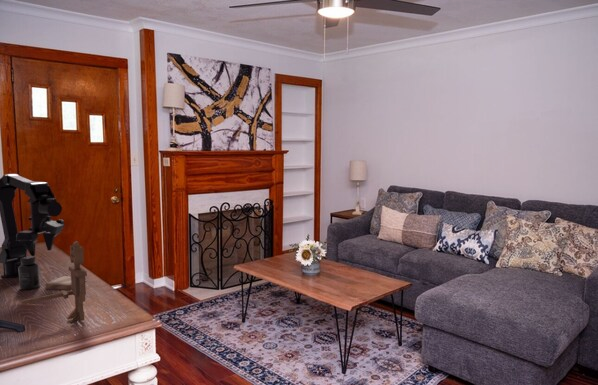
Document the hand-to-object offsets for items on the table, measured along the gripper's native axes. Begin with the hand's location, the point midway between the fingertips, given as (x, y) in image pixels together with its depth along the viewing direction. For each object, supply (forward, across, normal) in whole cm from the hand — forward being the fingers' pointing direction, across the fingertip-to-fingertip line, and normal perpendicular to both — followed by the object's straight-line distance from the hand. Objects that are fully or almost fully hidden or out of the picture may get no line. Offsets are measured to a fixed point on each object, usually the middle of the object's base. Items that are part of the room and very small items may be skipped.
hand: (41, 253), depth 173 cm
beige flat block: (+13, -1, -11) cm, 17 cm away
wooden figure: (+12, -36, -33) cm, 50 cm away
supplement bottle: (+13, -5, +2) cm, 14 cm away
